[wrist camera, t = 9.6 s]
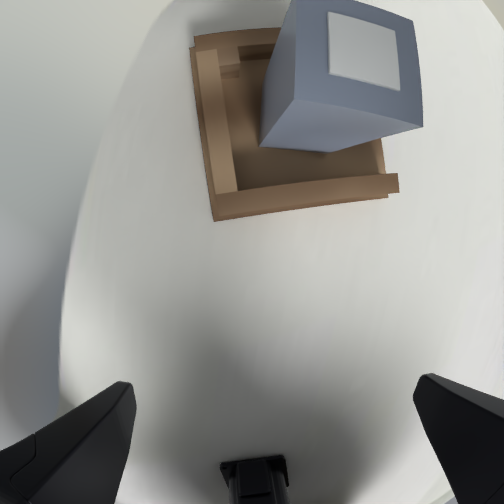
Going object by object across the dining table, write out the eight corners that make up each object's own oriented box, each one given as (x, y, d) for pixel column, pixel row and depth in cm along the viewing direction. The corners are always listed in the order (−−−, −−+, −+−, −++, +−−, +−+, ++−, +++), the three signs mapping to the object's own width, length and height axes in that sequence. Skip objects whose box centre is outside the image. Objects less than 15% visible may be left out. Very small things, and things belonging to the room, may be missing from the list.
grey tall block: (326, 154, 18) (425, 126, 8) (258, 147, 18) (295, 97, 7) (328, 91, 17) (414, 19, 7) (262, 82, 17) (297, -15, 6)
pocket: (385, 197, 19) (406, 199, 17) (214, 221, 19) (211, 226, 16) (356, 42, 17) (371, 26, 14) (190, 50, 16) (184, 31, 13)
